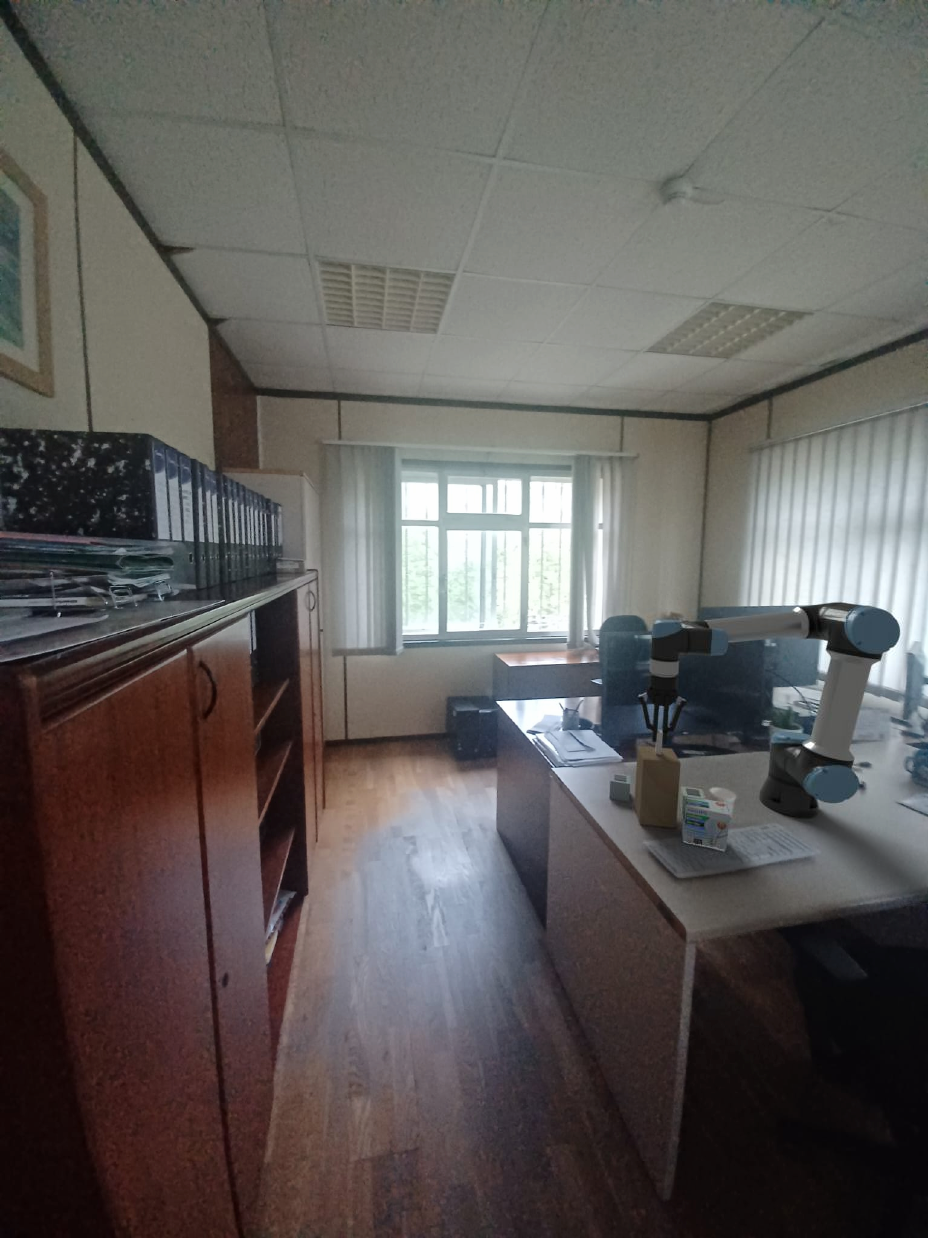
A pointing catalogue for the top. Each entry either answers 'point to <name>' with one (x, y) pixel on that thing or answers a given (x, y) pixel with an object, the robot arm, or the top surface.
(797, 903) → the top surface
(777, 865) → the top surface
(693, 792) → the sage cube
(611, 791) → the slate cube
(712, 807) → the light bulb box
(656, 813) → the wooden block
